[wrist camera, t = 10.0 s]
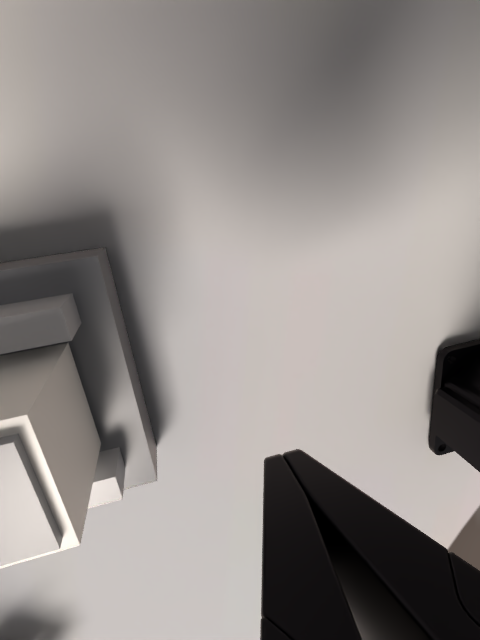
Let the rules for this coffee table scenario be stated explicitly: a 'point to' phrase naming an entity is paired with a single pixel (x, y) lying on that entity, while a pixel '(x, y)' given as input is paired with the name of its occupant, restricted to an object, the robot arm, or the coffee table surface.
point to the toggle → (43, 454)
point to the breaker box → (85, 355)
